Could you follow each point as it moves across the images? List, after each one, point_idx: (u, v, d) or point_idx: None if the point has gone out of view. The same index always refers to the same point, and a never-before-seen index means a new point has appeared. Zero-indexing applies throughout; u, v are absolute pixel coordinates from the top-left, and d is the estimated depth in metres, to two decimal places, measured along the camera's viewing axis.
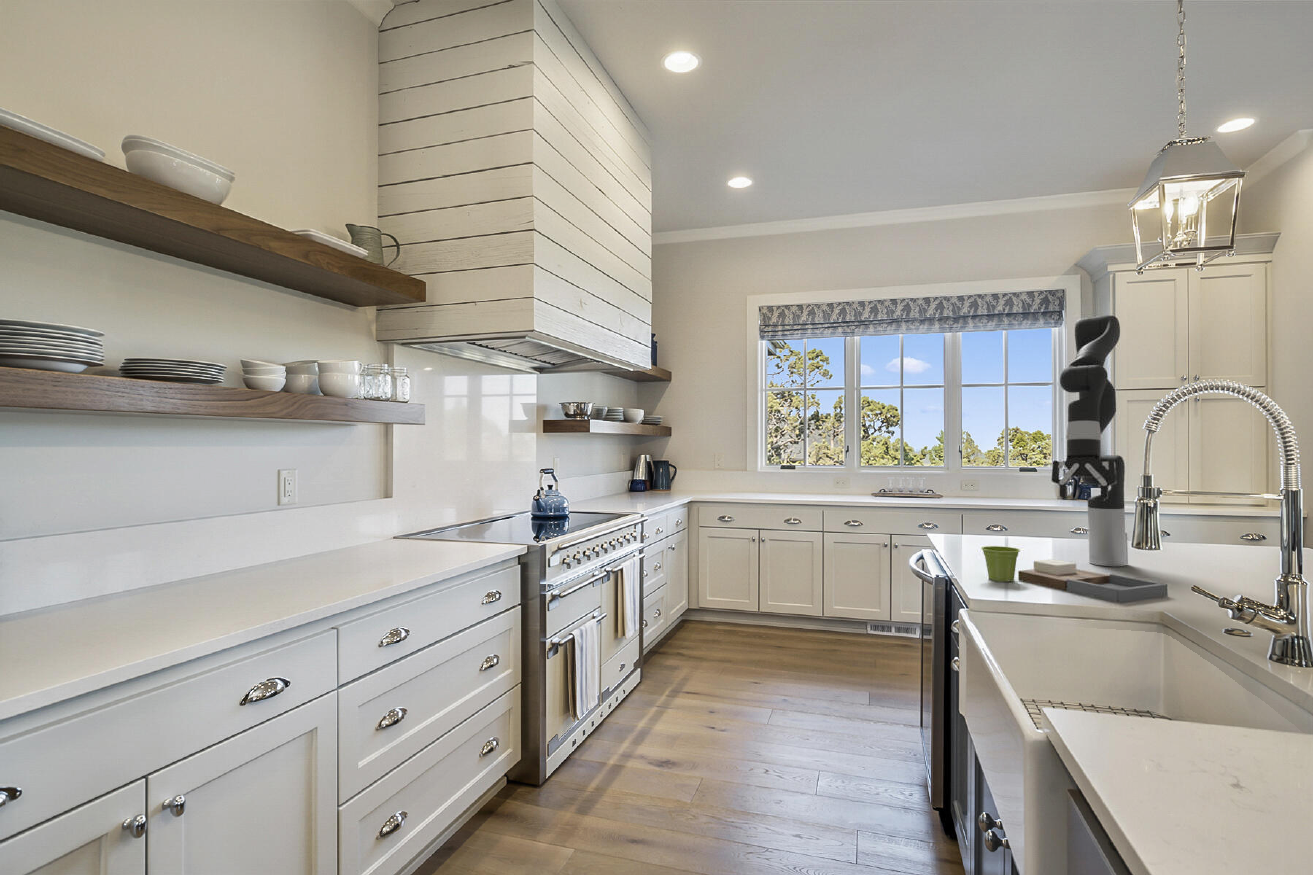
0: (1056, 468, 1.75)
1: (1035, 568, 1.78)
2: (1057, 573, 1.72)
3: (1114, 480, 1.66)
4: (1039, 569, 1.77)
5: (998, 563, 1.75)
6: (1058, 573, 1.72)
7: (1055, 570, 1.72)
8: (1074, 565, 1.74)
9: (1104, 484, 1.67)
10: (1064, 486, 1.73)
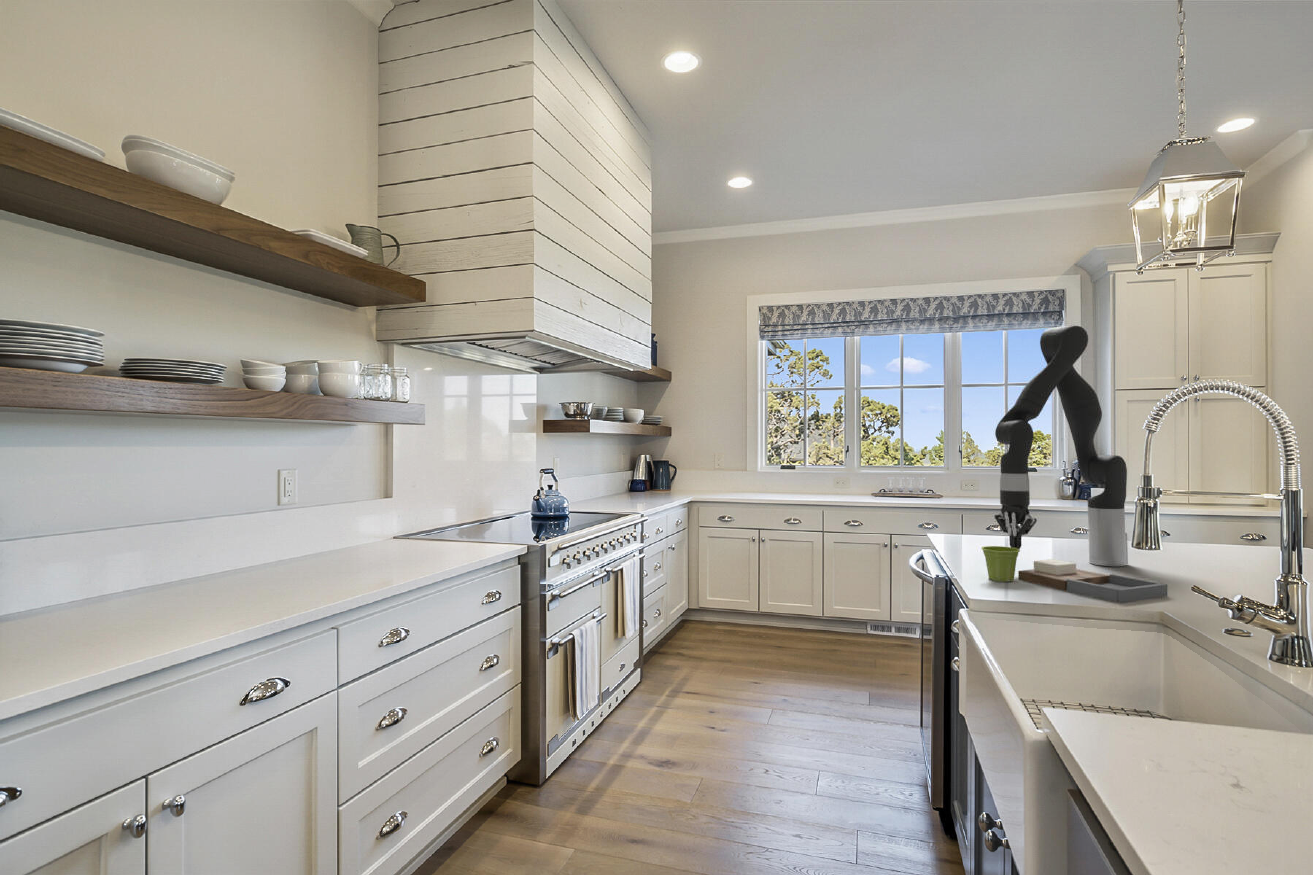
0: (999, 520, 1.91)
1: (1035, 568, 1.78)
2: (1057, 573, 1.72)
3: (1021, 533, 1.84)
4: (1039, 569, 1.77)
5: (999, 563, 1.75)
6: (1058, 573, 1.72)
7: (1055, 570, 1.72)
8: (1074, 565, 1.74)
9: (1014, 534, 1.87)
10: (1011, 537, 1.87)
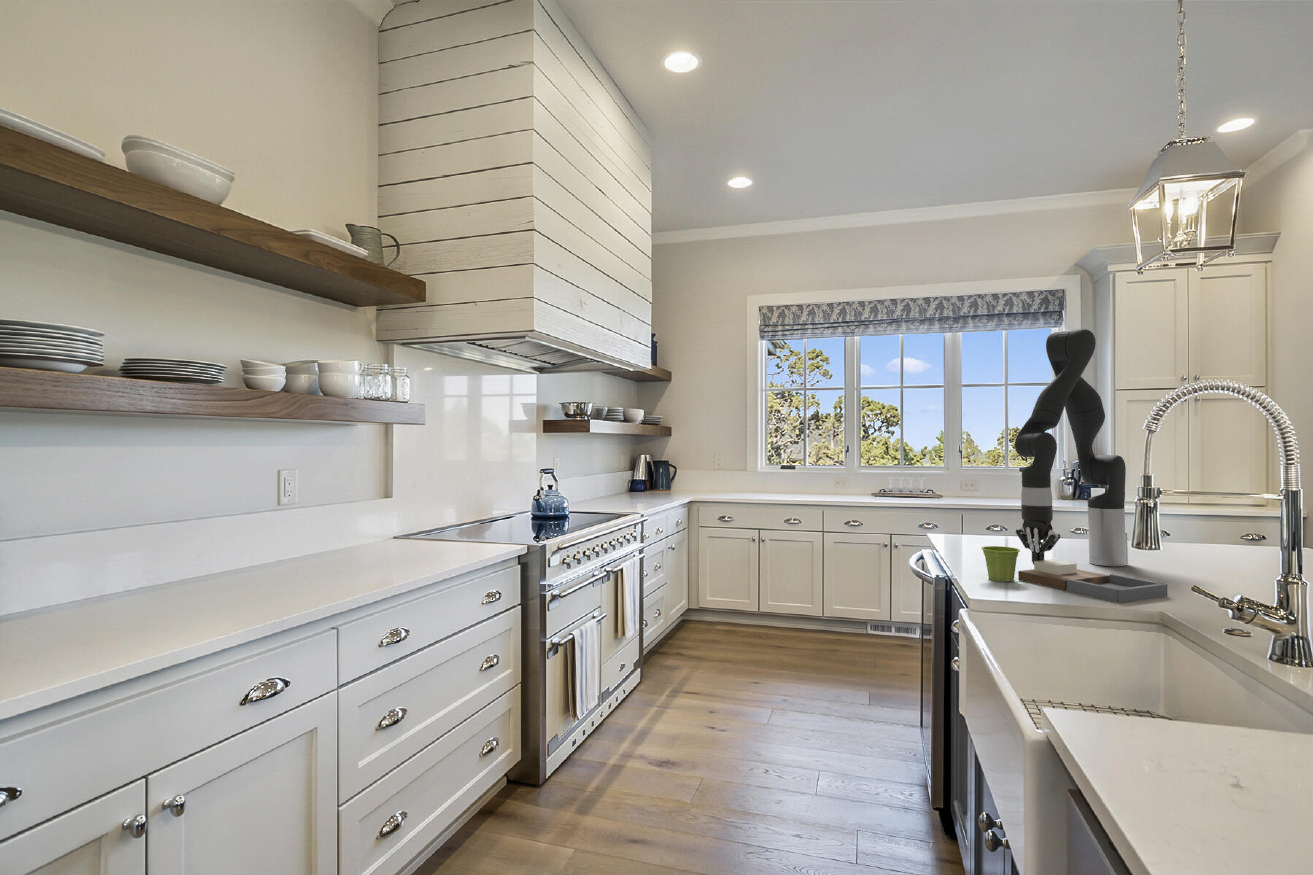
0: (1021, 535, 1.85)
1: (1035, 568, 1.78)
2: (1057, 573, 1.72)
3: (1044, 549, 1.78)
4: (1039, 569, 1.76)
5: (998, 563, 1.75)
6: (1058, 573, 1.72)
7: (1055, 570, 1.72)
8: (1074, 565, 1.74)
9: (1036, 551, 1.80)
10: (1034, 553, 1.81)
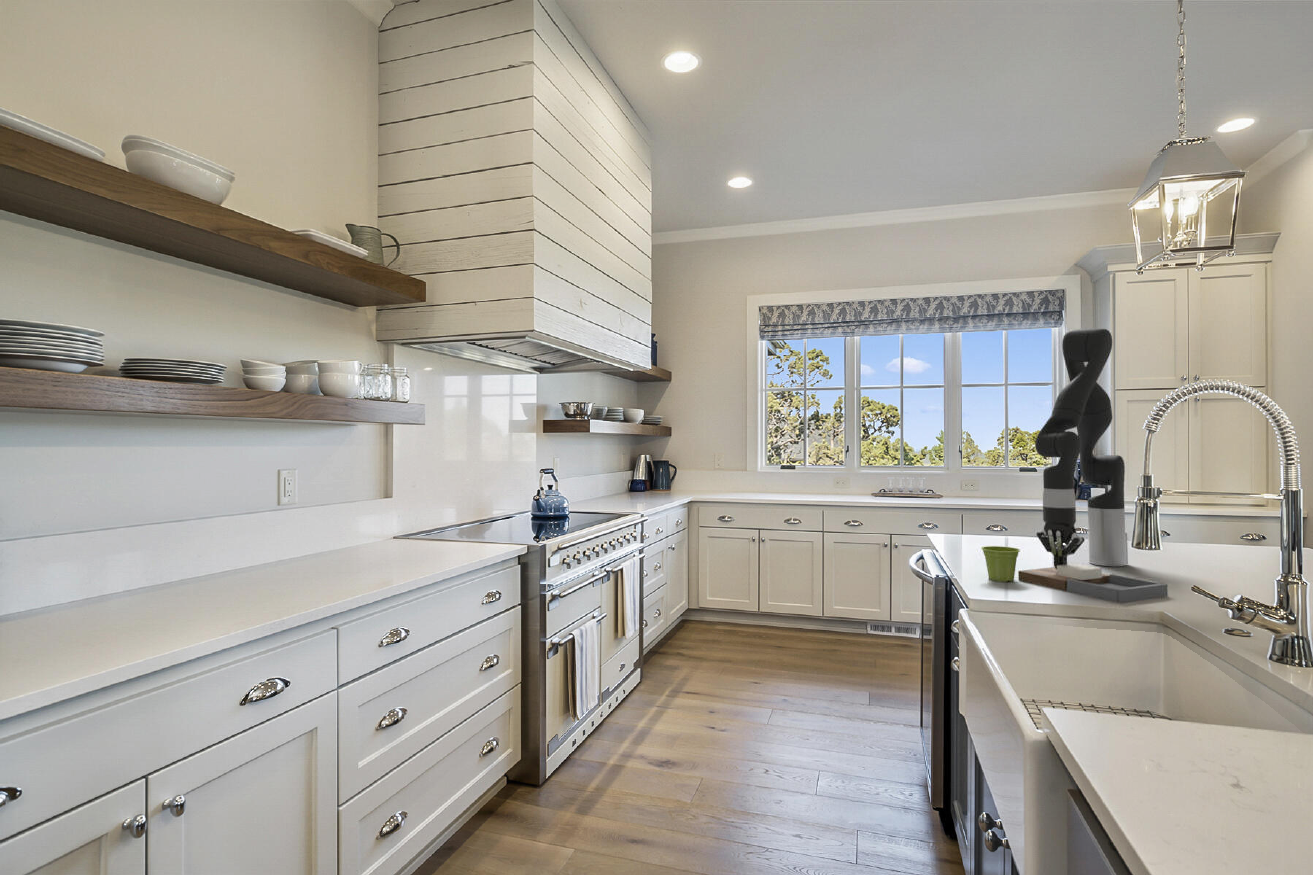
0: (1042, 538, 1.78)
1: (1058, 573, 1.71)
2: (1082, 578, 1.65)
3: (1067, 553, 1.71)
4: (1063, 574, 1.70)
5: (998, 563, 1.75)
6: (1083, 578, 1.65)
7: (1080, 575, 1.65)
8: (1099, 570, 1.67)
9: (1059, 554, 1.73)
10: (1056, 556, 1.74)
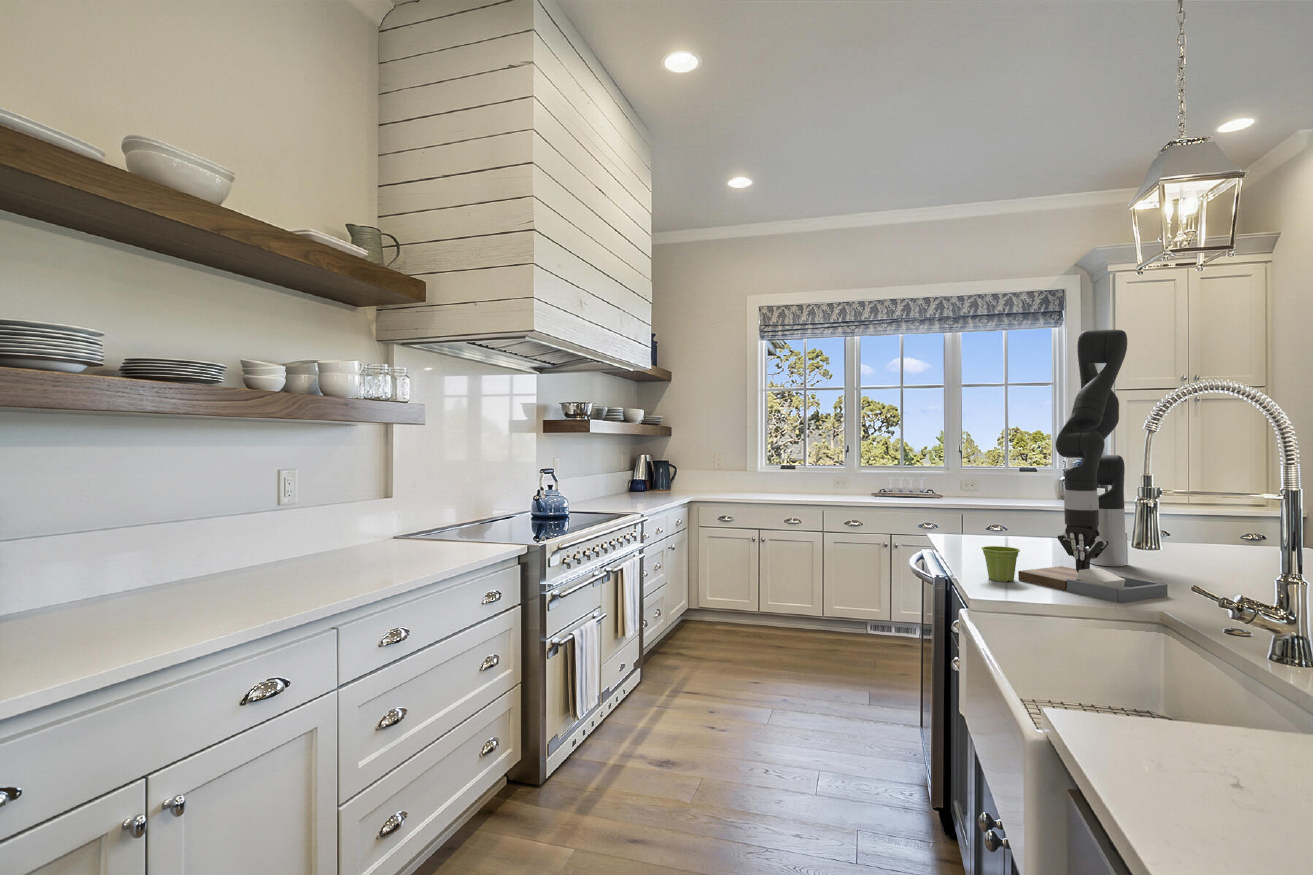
0: (1063, 542, 1.72)
1: (1079, 577, 1.65)
2: None
3: (1090, 557, 1.65)
4: (1083, 580, 1.64)
5: (998, 563, 1.75)
6: None
7: None
8: (1123, 581, 1.61)
9: (1081, 558, 1.67)
10: (1078, 560, 1.68)
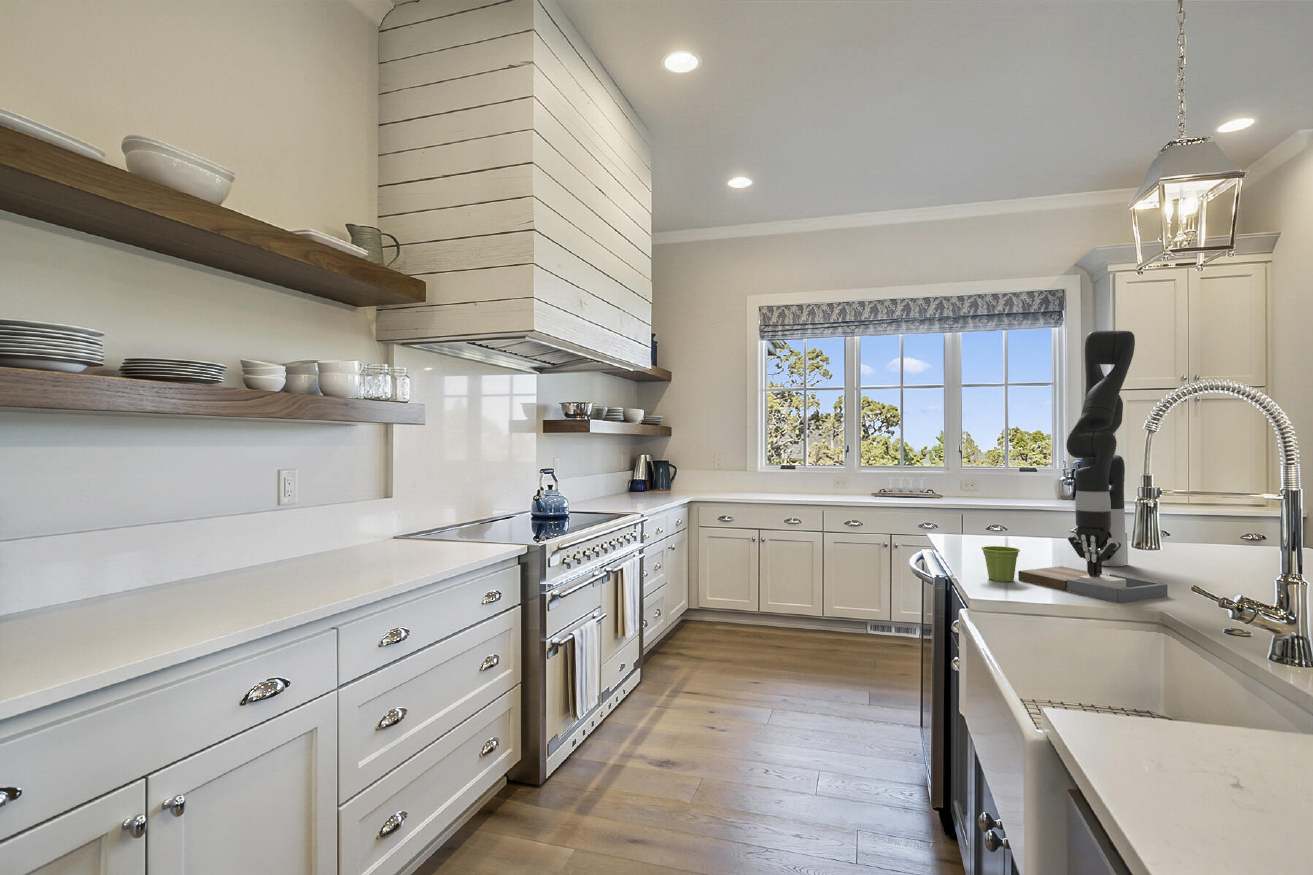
0: (1074, 543, 1.69)
1: None
2: None
3: (1102, 559, 1.62)
4: None
5: (998, 563, 1.75)
6: None
7: None
8: (1124, 581, 1.61)
9: (1093, 560, 1.64)
10: (1090, 563, 1.65)
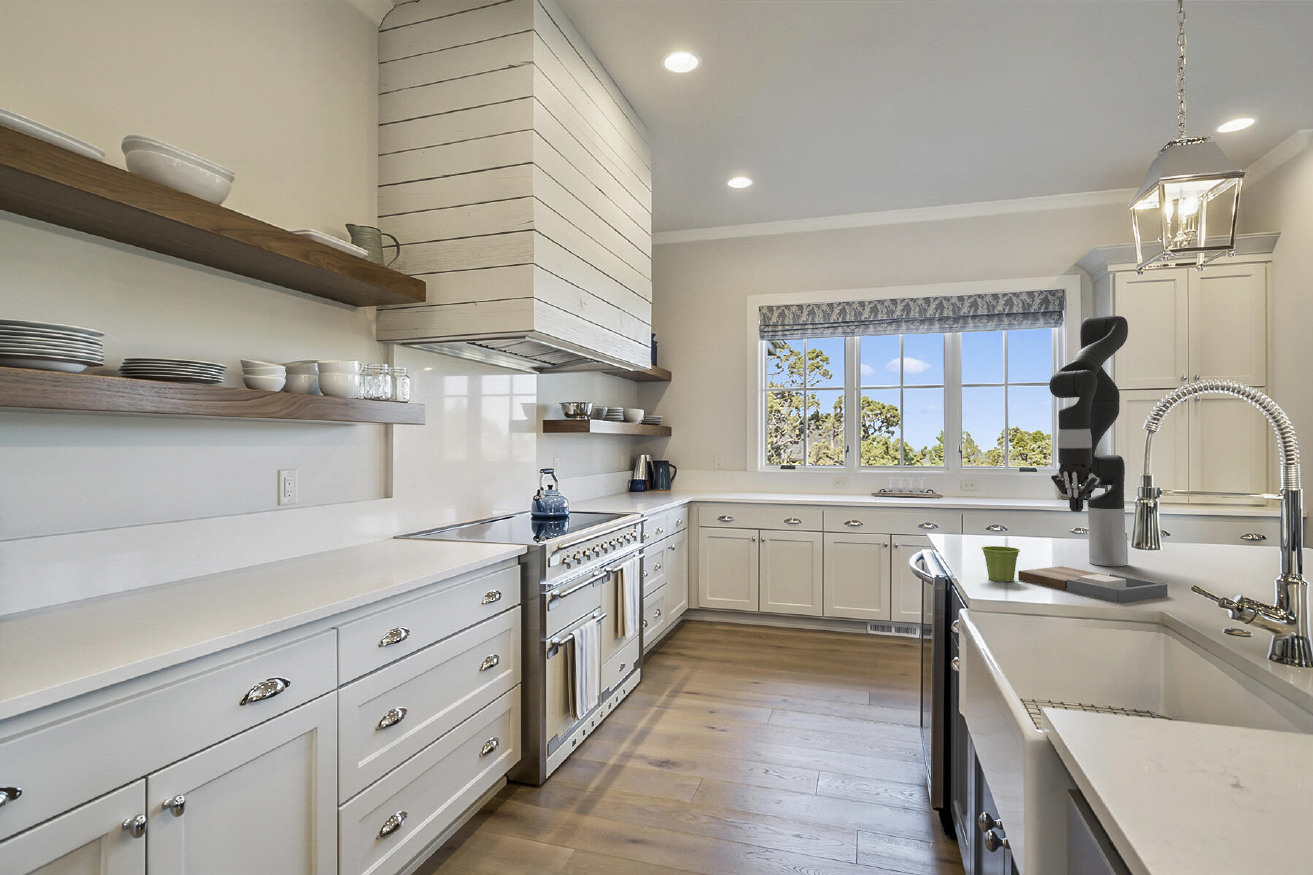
0: (1057, 481, 1.75)
1: None
2: None
3: (1083, 494, 1.68)
4: None
5: (999, 563, 1.75)
6: None
7: None
8: (1124, 581, 1.61)
9: (1075, 496, 1.70)
10: (1072, 498, 1.71)
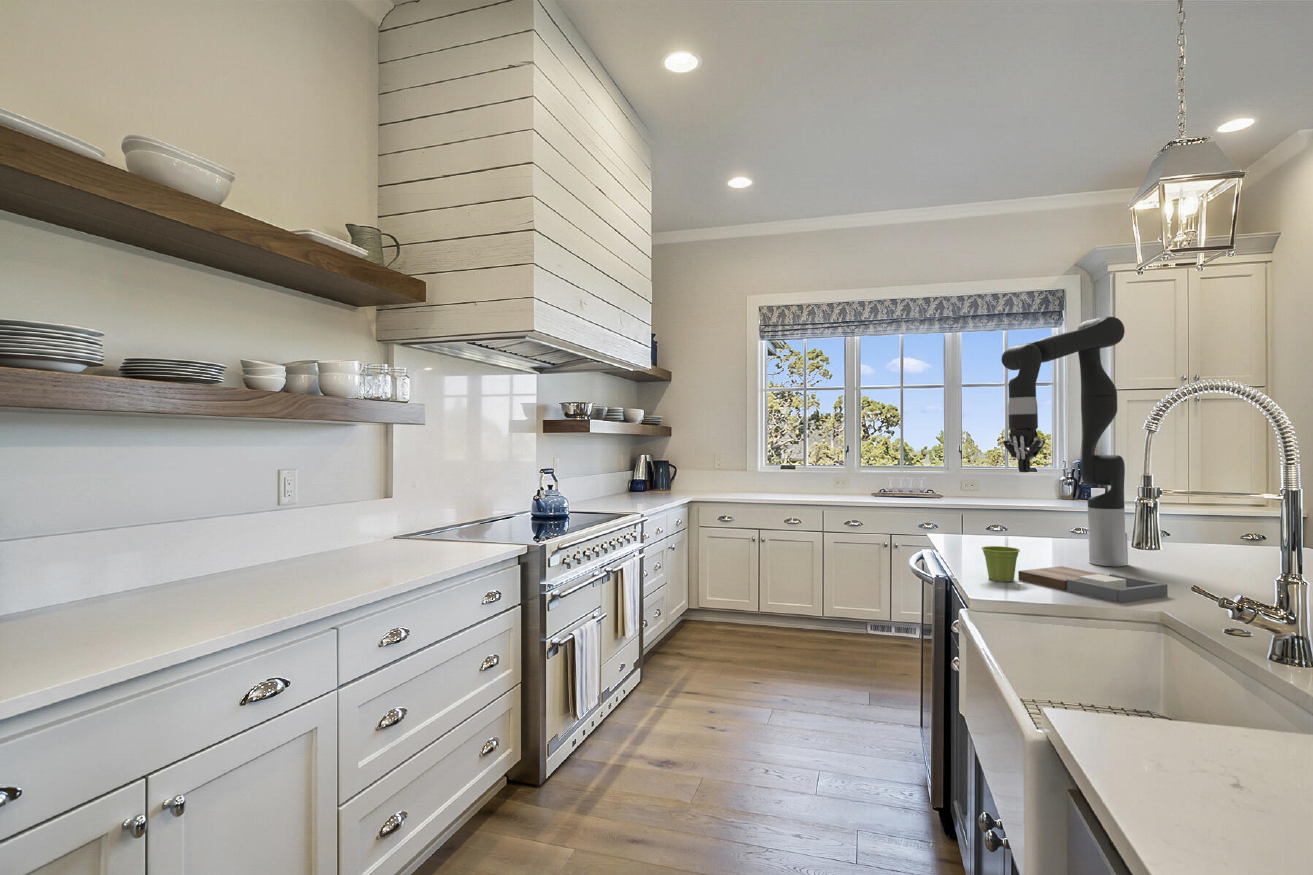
0: (1008, 445, 1.93)
1: None
2: None
3: (1029, 455, 1.86)
4: None
5: (999, 563, 1.75)
6: None
7: None
8: (1124, 581, 1.61)
9: (1022, 458, 1.88)
10: (1020, 460, 1.89)
